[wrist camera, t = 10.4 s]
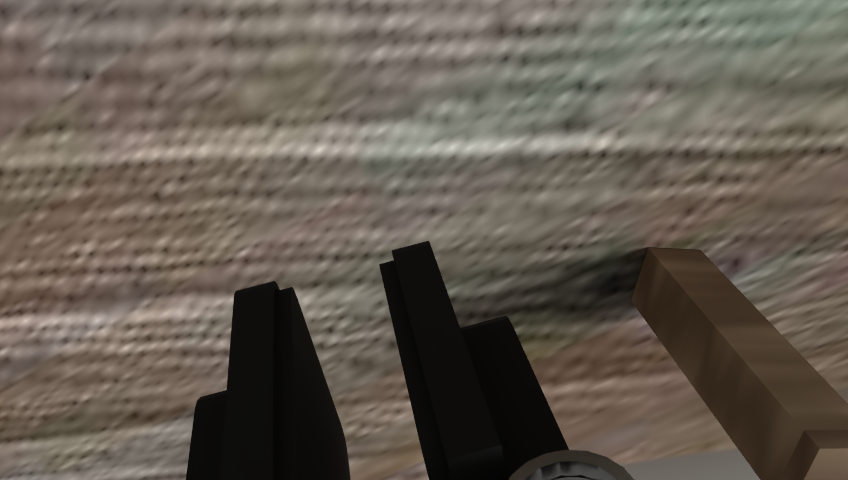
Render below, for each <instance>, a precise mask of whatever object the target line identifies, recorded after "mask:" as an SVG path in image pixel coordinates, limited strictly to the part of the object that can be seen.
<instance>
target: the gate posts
mask: <svg viewBox="0 0 848 480" xmlns="http://www.w3.org/2000/svg"><path fill="white" fill-rule="evenodd" d="M631 301H632V302H633V304H634V305H635V307H636V308H637V309H638V311H639V312H640V313H641V315H642V316H643V318H644V319H645V320H646V322H647V323H648V325H649V326H650V327H651V329H652V330H653V331H654V333H655V334H656V336H657V337H658V338H659V340H660V341H661V343H662V344H663V345H664V347H665V348H666V349H667V351H668V352H669V354H670V355H671V356H672V358H673V359H674V361H675V362H676V363H677V365H678V366H679V367H680V369H681V370H682V372H683V373H684V374H685V376H686V377H687V379H688V380H689V381H690V383H691V384H692V385H693V387H694V388H695V390H696V391H697V392H698V394H699V395H700V397H701V398H702V399H703V401H704V402H705V403H706V405H707V406H708V408H709V409H710V410H711V412H712V413H713V415H714V416H715V417H716V419H717V420H718V421H719V423H720V424H721V426H722V427H723V428H724V430H725V431H726V433H727V434H728V435H729V437H730V438H731V439H732V441H733V442H734V444H735V445H736V446H737V448H738V449H739V451H740V452H741V453H742V455H743V456H744V457H745V459H746V460H747V462H748V463H749V464H750V466H751V467H752V469H753V470H754V471H755V473H756V474H757V476H758V477H759V478H760V479H761V480H848V404H847V403H846V401H845V400H844V399H843V398H842V397H841V396H840V395H839V394H838V393H837V392H836V391H835V390H834V389H833V388H832V387H831V386H830V385H829V384H828V383H827V382H826V381H825V380H824V379H823V377H822V376H821V375H820V374H819V373H818V372H817V371H816V370H815V369H814V368H813V367H812V366H811V365H810V364H809V363H808V362H807V361H806V360H805V359H804V358H803V357H802V356H801V354H800V353H799V352H798V351H797V350H796V349H795V348H794V347H793V346H792V345H791V344H790V343H789V342H788V341H787V340H786V339H785V338H784V337H783V336H782V335H781V334H780V333H779V332H778V330H777V329H776V328H775V327H774V326H773V325H772V324H771V323H770V322H769V321H768V320H767V319H766V318H765V317H764V316H763V315H762V314H761V313H760V312H759V311H758V310H757V309H756V308H755V306H754V305H753V304H752V303H751V302H750V301H749V300H748V299H747V298H746V297H745V296H744V295H743V294H742V293H741V292H740V291H739V290H738V289H737V288H736V287H735V286H734V285H733V283H732V282H731V281H730V280H729V279H728V278H727V277H726V276H725V275H724V274H723V273H722V272H721V271H720V270H719V269H718V268H717V267H716V266H715V265H714V264H713V263H712V262H711V261H710V259H709V258H708V257H707V256H706V255H705V254H704V253H703V252H702V251H701V250H686V249H667V248H648V250H647V253H646V256H645V259H644V262H643V265H642V268H641V271H640V274H639V277H638V280H637V283H636V287H635V290H634V293H633V296H632V299H631Z"/></svg>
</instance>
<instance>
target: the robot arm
mask: <svg viewBox="0 0 848 480" xmlns="http://www.w3.org/2000/svg"><path fill="white" fill-rule="evenodd" d="M392 254H393V258H394V261H390V262H386V263H382V264H379V266H380V270H381V275H382V279H383V283H384V288H385V292H386V296H387V301H388V305H389V310H390V314H391V318H392V323H393V327H394V331H395V336H396V340H397V345H398V349H399V353H400V358H401V362H402V366H403V371H404V375H405V379H406V384H407V388H408V393H409V397H410V401H411V406H412V410H413V414H414V419H415V423H416V428H417V432H418V436H419V441H420V445H421V449H422V453H423V457H424V461H425V465H426V469H427V473H428V477H429V480H634V479H633V478H632V477H631V475H630V474H629V473H628V472H627V471H626V470H625V469H624V467H622V466H620V465H619V464H617V463H615V462H614V461H612V460H611V459H609V458H607V457H605V456H602V455H598V454H595V453H592V452H588V451H579V450H569V449H568V446H567V444H566V442H565V440H564V438H563V435H562V433H561V431H560V429H559V427H558V424H557V422H556V420H555V418H554V416H553V413H552V411H551V409H550V407H549V405H548V402H547V400H546V398H545V396H544V394H543V392H542V389H541V387H540V385H539V383H538V381H537V378H536V376H535V374H534V372H533V370H532V367H531V365H530V363H529V361H528V359H527V356H526V354H525V352H524V350H523V348H522V345H521V343H520V341H519V339H518V337H517V334H516V332H515V330H514V328H513V326H512V324H511V322H510V320H509V318H508V317H507V316H503V317H499V318H496V319H492V320H488V321H484V322H481V323H477V324H473V325H469V326H466V327H462V328H460V327H459V324H458V321H457V318H456V316H455V313H454V310H453V307H452V304H451V301H450V299H449V296H448V293H447V290H446V287H445V284H444V282H443V279H442V276H441V273H440V270H439V268H438V265H437V262H436V259H435V256H434V253H433V251H432V248H431V245H430V242H429V241H426V242H422V243H418V244H414V245H411V246H407V247H403V248H399V249H395V250H392ZM186 480H350V471H349V462H348V454H347V446H346V441H345V437H344V433H343V429H342V426H341V423H340V420H339V417H338V414H337V411H336V408H335V406H334V403H333V400H332V397H331V394H330V391H329V388H328V385H327V383H326V380H325V377H324V374H323V371H322V368H321V365H320V362H319V359H318V357H317V354H316V351H315V348H314V345H313V342H312V339H311V336H310V334H309V331H308V328H307V325H306V322H305V319H304V316H303V313H302V311H301V308H300V305H299V302H298V299H297V296H296V294H295V291H294V289H293V288H292V287H290V288H287V289H283V290H280V289H279V287H278V285H277V283H276V282H275V281H273V282H269V283H265V284H261V285H257V286H253V287H250V288H246V289H242V290H238V291H236V292H235V294H234V304H233V317H232V330H231V342H230V355H229V368H228V381H227V390H225V391H222V392H218V393H214V394H210V395H207V396H203V397H200V398H199V399H198V401H197V403H196V407H195V413H194V421H193V429H192V436H191V444H190V452H189V460H188V468H187V475H186Z"/></svg>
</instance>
